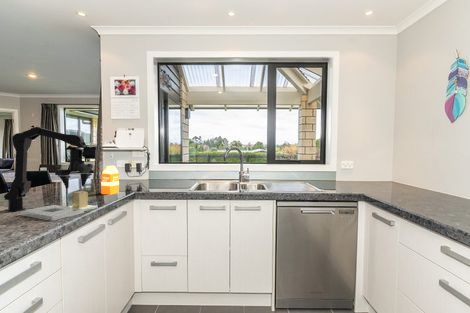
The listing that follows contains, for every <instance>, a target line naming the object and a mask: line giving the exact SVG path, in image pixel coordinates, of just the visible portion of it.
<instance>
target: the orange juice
mask: <svg viewBox="0 0 470 313" xmlns="http://www.w3.org/2000/svg"><path fill="white" fill-rule="evenodd" d="M119 180H120V172H119V171H118V169H117V168H116V166H115V165H107V166H105V168H104V169H103V170H102V173H101V182H100V183H101V186H100V187H101V190H100V191H101V195H115V194H119V193H120V191H119V190H120V181H119Z"/></svg>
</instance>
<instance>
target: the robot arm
mask: <svg viewBox="0 0 470 313" xmlns="http://www.w3.org/2000/svg"><path fill="white" fill-rule="evenodd" d="M40 136H43V137H46V138H50V139H54V140H57V141H62V142H64V143H66V144H67V145H68V146H67V147H65V150H66V151H69V160H67V163H69V167H68V168H67V169H65V168H62V169H56V170H55V171H54V172H55V173H54V175H55V176H57V177H59V178H60V180H61V181H62V183H63V185H64V188H66V189H69V187H70V186H69V184H70V183H69V181H70V178H71V174H79V175H80V182H81V187H85V185H86V182H87V180H88V178H89V177H90V176H91V175H93V174H95V170H94V168H93V166H94V165H93V163H87V164H86V163H85V160H83V158H84V159H86V160H98V157H99V151H98V147H97V146H88V145H87V144H86V143H85V140H84V138H83V136H81V135H78V134H69V133H68V134H66V133H63V132H58V131H54V130H51V129H46V128H43V127H40V126H34V127H32V128H31V129H28V130H24V131H22V132H17V133H15V134H13V135H12V137H11V141H12V146H13V148H14V149H15V161H14V163H15V164H14V178H13V180H12V182H11V184H10V187H9V191H8V192H7V193H5V194H4V195H3V197H4V200H5V201H7V207H8V208H7V209H4V211H5V212H11V213H14V212H18V211H24V210H27V208H25V207H24V197H26V195H27V194H28V193H29V192H30V190H31V189H32V188H31V187H32V186H31V184H32V181H31V180H30V181H29V180H28V178H27V171H28V168H27V167H28V151H29V148H31V146H32V141H33V140H36V139H37V138H38V137H40Z"/></svg>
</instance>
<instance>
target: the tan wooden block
mask: <svg viewBox="0 0 470 313" xmlns="http://www.w3.org/2000/svg"><path fill="white" fill-rule="evenodd" d="M88 198H89V192H88V191H83V190H81V191H80V190H79V191H73V192H72V206H73V207H75V208H82V207H87V206H88V205H89V203H88V202H89V201H88V200H89V199H88Z"/></svg>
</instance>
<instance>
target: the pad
mask: <svg viewBox="0 0 470 313" xmlns="http://www.w3.org/2000/svg"><path fill="white" fill-rule="evenodd" d="M67 207H72V208H75V207H73V205H69V206H67ZM79 209H84V211H85V212H86V211H89V210H93V209H97V206H96V205H91V204H88V206H87V207H82V208H79Z"/></svg>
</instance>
